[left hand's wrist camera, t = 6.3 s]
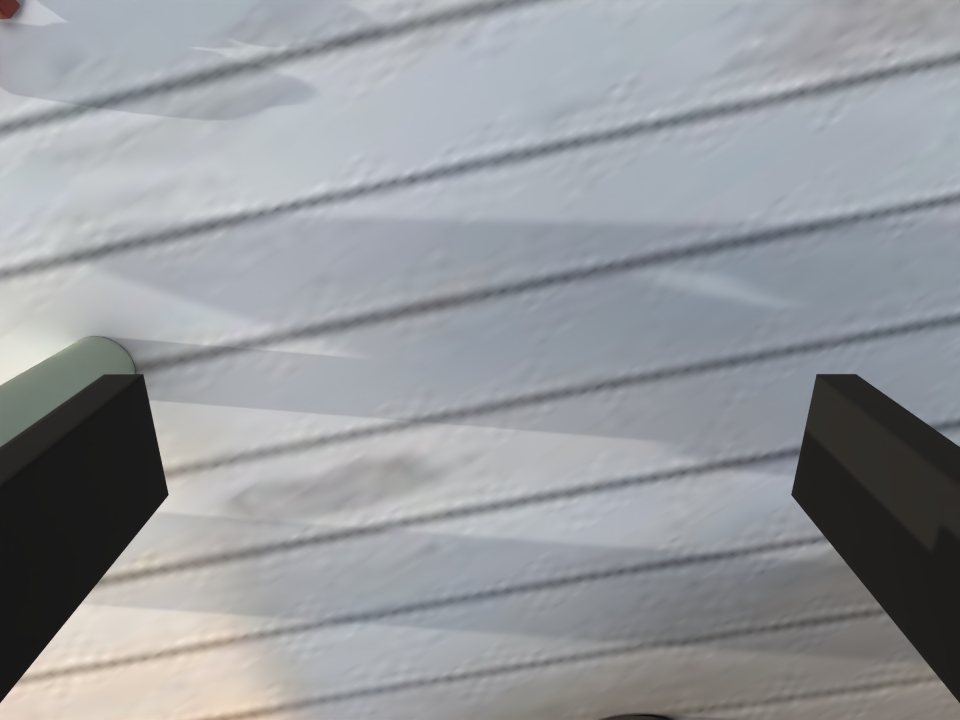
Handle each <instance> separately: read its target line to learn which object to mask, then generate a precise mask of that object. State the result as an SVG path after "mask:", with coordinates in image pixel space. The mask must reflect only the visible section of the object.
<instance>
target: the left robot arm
mask: <svg viewBox="0 0 960 720" xmlns="http://www.w3.org/2000/svg"><path fill="white" fill-rule="evenodd" d="M168 495H169V494H168V490H167V485H166V480H165V475H164V471H163V466H162V461H161V456H160V452H159V447H158V442H157V437H156V432H155V428H154V423H153V418H152V413H151V409H150V404H149V399H148V394H147V390H146V385H145V380H144V375H143V374H104V375H102V376H101V377H99V378H98V379H97V380H95V381H94V382H92V383H91V384H89V385H88V386H87V387H85V388H84V389H82V390H81V391H79V392H78V393H77V394H75V395H74V396H72V397H71V398H70V399H68V400H67V401H65V402H64V403H62V404H61V405H60V406H58V407H57V408H55V409H54V410H52V411H51V412H50V413H48V414H47V415H45V416H44V417H42V418H41V419H40V420H38V421H37V422H35V423H34V424H32V425H31V426H30V427H28V428H27V429H25V430H24V431H23V432H21V433H20V434H18V435H17V436H15V437H14V438H13V439H11V440H10V441H8V442H7V443H5V444H4V445H3V446H1V447H0V703H1V701H2V700H3V699H4V698H5V696H6V695H7V694H8V693H9V692H10V690H11V689H12V688H13V687H14V685H15V684H16V683H17V682H18V680H19V679H20V678H21V677H22V675H23V674H24V673H25V672H26V671H27V669H28V668H29V667H30V666H31V664H32V663H33V662H34V661H35V659H36V658H37V657H38V656H39V654H40V653H41V652H42V651H43V650H44V648H45V647H46V646H47V645H48V643H49V642H50V641H51V640H52V638H53V637H54V636H55V635H56V633H57V632H58V631H59V630H60V629H61V627H62V626H63V625H64V624H65V622H66V621H67V620H68V619H69V617H70V616H71V615H72V614H73V612H74V611H75V610H76V609H77V608H78V606H79V605H80V604H81V603H82V601H83V600H84V599H85V598H86V596H87V595H88V594H89V593H90V591H91V590H92V589H93V588H94V587H95V585H96V584H97V583H98V582H99V580H100V579H101V578H102V577H103V575H104V574H105V573H106V572H107V570H108V569H109V568H110V567H111V566H112V564H113V563H114V562H115V561H116V559H117V558H118V557H119V556H120V554H121V553H122V552H123V551H124V549H125V548H126V547H127V546H128V545H129V543H130V542H131V541H132V540H133V538H134V537H135V536H136V535H137V533H138V532H139V531H140V530H141V528H142V527H143V526H144V525H145V524H146V522H147V521H148V520H149V519H150V517H151V516H152V515H153V514H154V512H155V511H156V510H157V509H158V507H159V506H160V505H161V504H162V503H163V501H164V500H165V499H166V498H167V496H168ZM791 495H792V496H793V498H794V499H795V500H796V501H797V503H798V504H799V505H800V506H801V507H802V509H803V510H804V511H805V512H806V514H807V515H808V516H809V517H810V519H811V520H812V521H813V522H814V524H815V525H816V526H817V527H818V528H819V530H820V531H821V532H822V533H823V535H824V536H825V537H826V538H827V540H828V541H829V542H830V543H831V545H832V546H833V547H834V548H835V549H836V551H837V552H838V553H839V554H840V556H841V557H842V558H843V559H844V561H845V562H846V563H847V564H848V566H849V567H850V568H851V569H852V570H853V572H854V573H855V574H856V575H857V577H858V578H859V579H860V580H861V582H862V583H863V584H864V585H865V587H866V588H867V589H868V590H869V591H870V593H871V594H872V595H873V596H874V598H875V599H876V600H877V601H878V603H879V604H880V605H881V606H882V608H883V609H884V610H885V611H886V612H887V614H888V615H889V616H890V617H891V619H892V620H893V621H894V622H895V624H896V625H897V626H898V627H899V629H900V630H901V631H902V632H903V633H904V635H905V636H906V637H907V638H908V640H909V641H910V642H911V643H912V645H913V646H914V647H915V648H916V650H917V651H918V652H919V653H920V654H921V656H922V657H923V658H924V659H925V661H926V662H927V663H928V664H929V666H930V667H931V668H932V669H933V671H934V672H935V673H936V674H937V675H938V677H939V678H940V679H941V680H942V682H943V683H944V684H945V685H946V687H947V688H948V689H949V690H950V692H951V693H952V694H953V695H954V696H955V698H956V699H957V700H958V701H959V703H960V447H959V446H957V445H956V444H955V443H953V442H952V441H950V440H949V439H947V438H946V437H945V436H943V435H942V434H940V433H939V432H937V431H936V430H935V429H933V428H932V427H930V426H929V425H928V424H926V423H925V422H923V421H922V420H920V419H919V418H918V417H916V416H915V415H913V414H912V413H910V412H909V411H908V410H906V409H905V408H903V407H902V406H900V405H899V404H898V403H896V402H895V401H893V400H892V399H890V398H889V397H888V396H886V395H885V394H883V393H882V392H881V391H879V390H878V389H876V388H875V387H873V386H872V385H871V384H869V383H868V382H866V381H865V380H863V379H862V378H861V377H859V376H858V375H856V374H817V375H816V380H815V385H814V390H813V394H812V399H811V404H810V409H809V413H808V418H807V423H806V428H805V432H804V437H803V442H802V447H801V452H800V456H799V461H798V466H797V471H796V475H795V480H794V485H793V490H792V494H791ZM609 720H666V719H662V718H657V717H649V716H627V717H619V718H613V719H609Z"/></svg>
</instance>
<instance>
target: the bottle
mask: <svg viewBox="0 0 960 720" xmlns="http://www.w3.org/2000/svg"><path fill="white" fill-rule="evenodd" d="M104 374H135V367H134V364H133V361H132V359H131V357H130V356H129V354H128V353H127V352H126V351H125V350H124V349H123V348H122V347H121V346H120V345H119V344H117V343H115V342H114V341H112V340H109V339H107V338H103V337H86V338H83V339H81V340H79V341H77V342H75V343H74V344H72V345H70V346H69V347H67V348H65V349H63V350H62V351H60V352H58V353H56V354H55V355H53V356H51V357H49V358H48V359H46V360H44V361H42V362H41V363H39V364H37V365H35V366H34V367H32V368H30V369H28V370H27V371H25V372H23V373H21V374H20V375H18V376H16V377H14V378H13V379H11V380H9V381H8V382H6V383H4V384H2V385H1V386H0V447H1V446H3V445H4V444H5V443H7V442H8V441H10V440H11V439H13V438H14V437H15V436H17V435H18V434H20V433H21V432H23V431H24V430H25V429H27V428H28V427H30V426H31V425H32V424H34V423H35V422H37V421H38V420H40V419H41V418H42V417H44V416H45V415H47V414H48V413H50V412H51V411H52V410H54V409H55V408H57V407H58V406H60V405H61V404H62V403H64V402H65V401H67V400H68V399H70V398H71V397H72V396H74V395H75V394H77V393H78V392H79V391H81V390H82V389H84V388H85V387H87V386H88V385H89V384H91V383H92V382H94V381H95V380H97V379H98V378H99V377H101V376H102V375H104Z"/></svg>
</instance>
